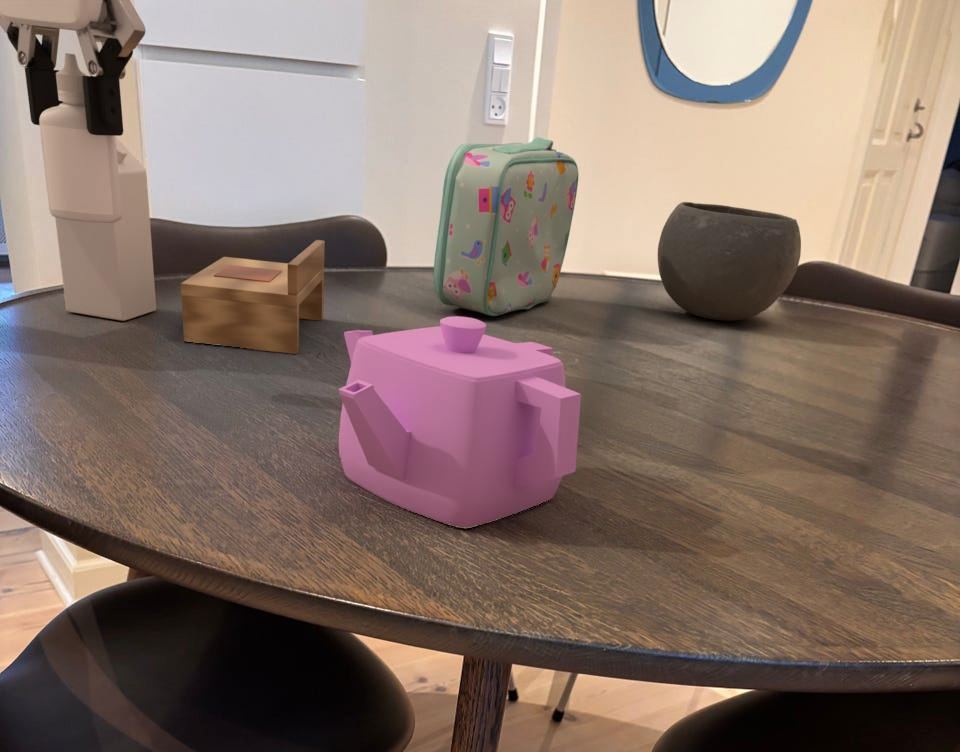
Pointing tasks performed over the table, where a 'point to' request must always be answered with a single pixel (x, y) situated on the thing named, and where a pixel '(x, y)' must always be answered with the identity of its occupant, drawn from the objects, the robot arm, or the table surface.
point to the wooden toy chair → (254, 301)
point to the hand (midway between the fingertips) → (77, 127)
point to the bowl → (727, 259)
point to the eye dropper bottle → (78, 157)
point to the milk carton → (111, 253)
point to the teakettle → (456, 421)
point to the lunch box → (504, 225)
